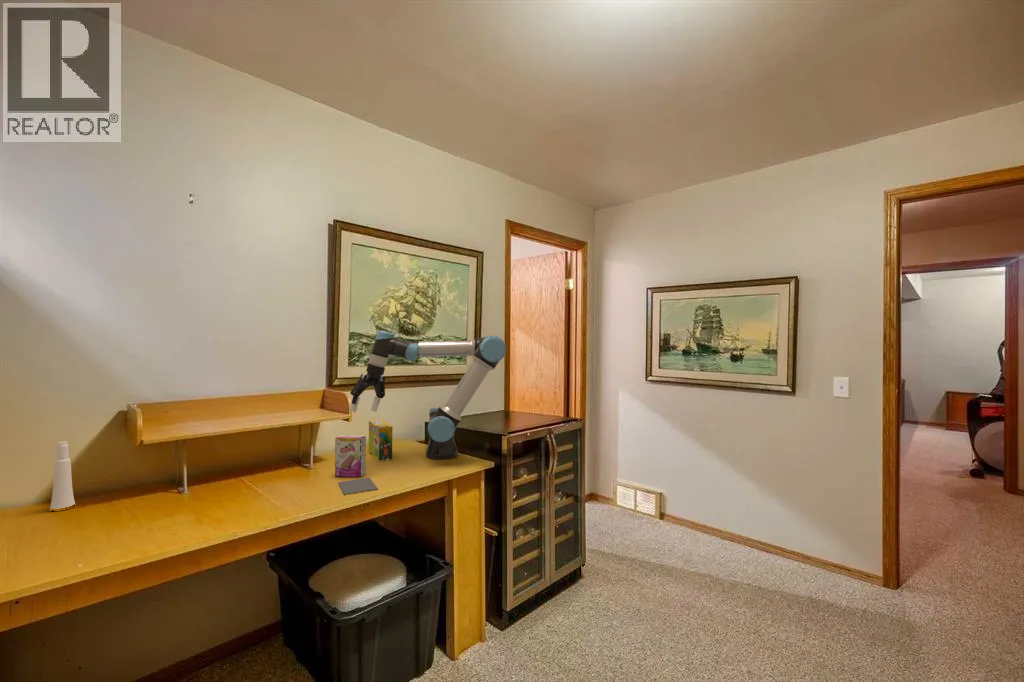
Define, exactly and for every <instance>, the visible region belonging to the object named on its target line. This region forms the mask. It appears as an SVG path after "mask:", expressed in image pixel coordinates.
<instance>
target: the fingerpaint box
mask: <svg viewBox="0 0 1024 682" xmlns="http://www.w3.org/2000/svg"><path fill="white" fill-rule="evenodd" d="M369 451H370V452H371V453H372V454H373V455H374V456H375V457H376V458H377V459H378V460H384V461H387V460H386V459H391V460H393V425H392V424H391V425H390V424H389V423H388V422H386V421H384V420H383V419H373V420H369V421H368V452H369ZM370 452H369V453H370ZM371 453H370V454H371ZM372 454H371V455H372ZM373 455H372V456H373ZM374 456H373V457H374ZM375 457H374V458H375ZM376 458H375V459H376ZM377 459H376V460H377ZM378 460H377V461H378Z"/></svg>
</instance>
